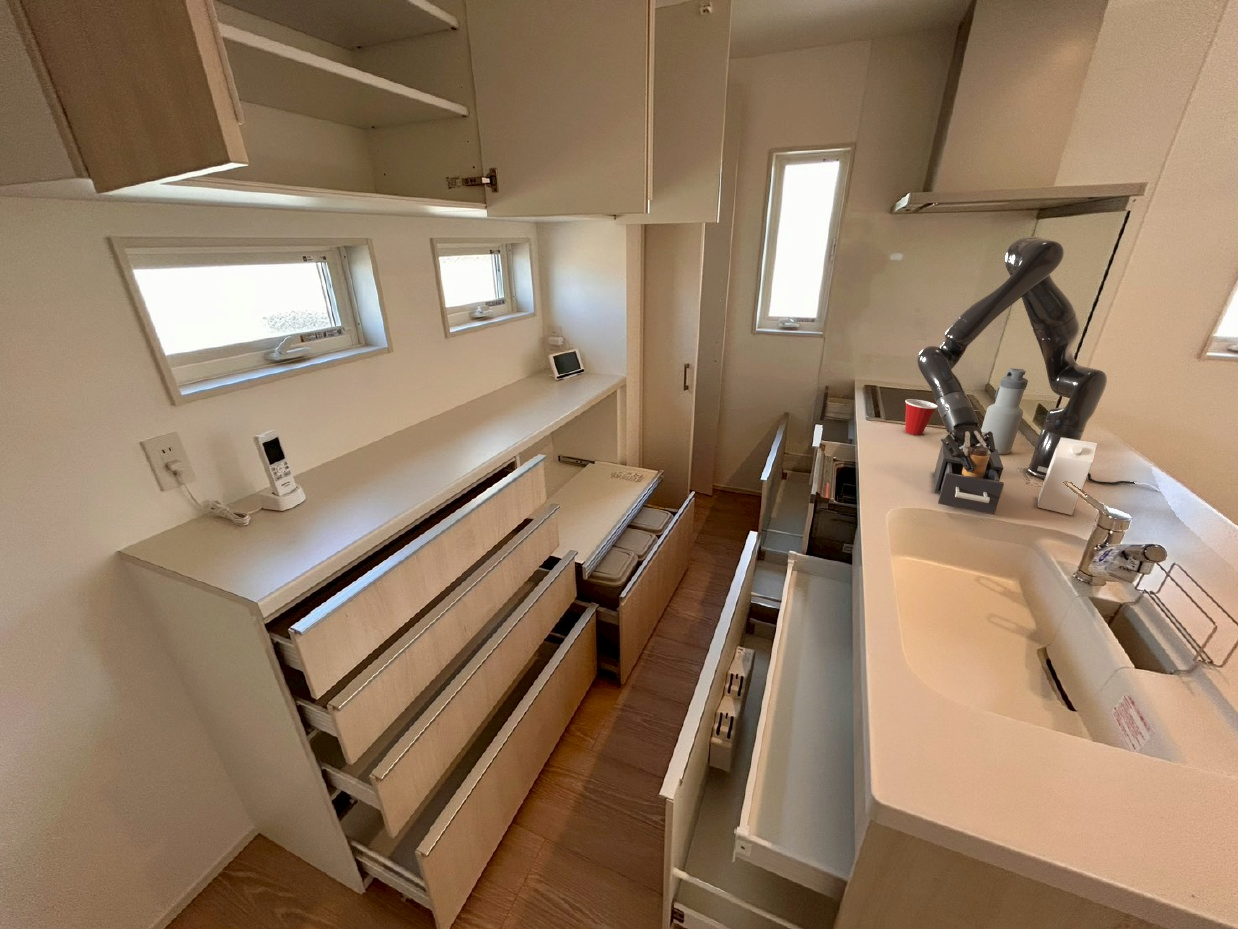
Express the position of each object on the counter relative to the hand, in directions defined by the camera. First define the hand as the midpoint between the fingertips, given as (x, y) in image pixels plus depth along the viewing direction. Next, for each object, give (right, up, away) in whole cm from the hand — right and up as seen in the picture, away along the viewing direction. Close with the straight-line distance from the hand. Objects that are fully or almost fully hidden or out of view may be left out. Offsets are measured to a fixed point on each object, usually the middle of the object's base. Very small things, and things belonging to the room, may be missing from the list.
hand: (980, 469), depth 129 cm
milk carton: (+23, -10, +5) cm, 26 cm away
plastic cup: (+19, +13, +60) cm, 64 cm away
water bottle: (+36, +6, +44) cm, 57 cm away
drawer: (0, -9, +5) cm, 10 cm away
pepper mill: (0, -3, +3) cm, 5 cm away
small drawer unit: (+6, -5, +16) cm, 18 cm away
